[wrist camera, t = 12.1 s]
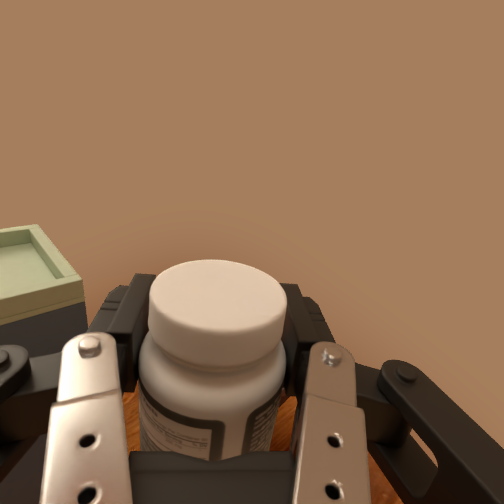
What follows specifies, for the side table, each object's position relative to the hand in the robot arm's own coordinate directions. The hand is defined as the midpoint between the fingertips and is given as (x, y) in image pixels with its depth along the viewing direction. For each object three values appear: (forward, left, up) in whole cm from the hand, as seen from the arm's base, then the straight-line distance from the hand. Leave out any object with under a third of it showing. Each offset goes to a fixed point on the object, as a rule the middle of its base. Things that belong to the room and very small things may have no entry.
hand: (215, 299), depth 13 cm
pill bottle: (-3, -1, -6) cm, 7 cm away
